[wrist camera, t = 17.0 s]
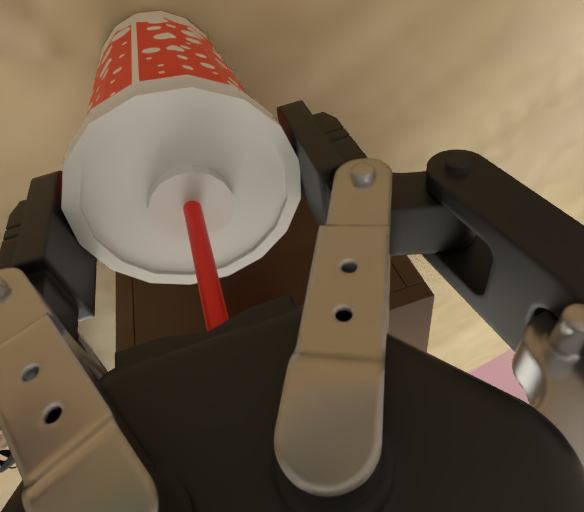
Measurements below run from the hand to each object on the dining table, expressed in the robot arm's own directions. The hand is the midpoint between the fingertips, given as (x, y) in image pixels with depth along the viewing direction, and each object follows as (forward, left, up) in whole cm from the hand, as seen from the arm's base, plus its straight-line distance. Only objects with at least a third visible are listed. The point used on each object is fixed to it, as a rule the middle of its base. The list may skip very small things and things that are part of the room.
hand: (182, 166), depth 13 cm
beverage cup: (0, 0, -7) cm, 7 cm away
